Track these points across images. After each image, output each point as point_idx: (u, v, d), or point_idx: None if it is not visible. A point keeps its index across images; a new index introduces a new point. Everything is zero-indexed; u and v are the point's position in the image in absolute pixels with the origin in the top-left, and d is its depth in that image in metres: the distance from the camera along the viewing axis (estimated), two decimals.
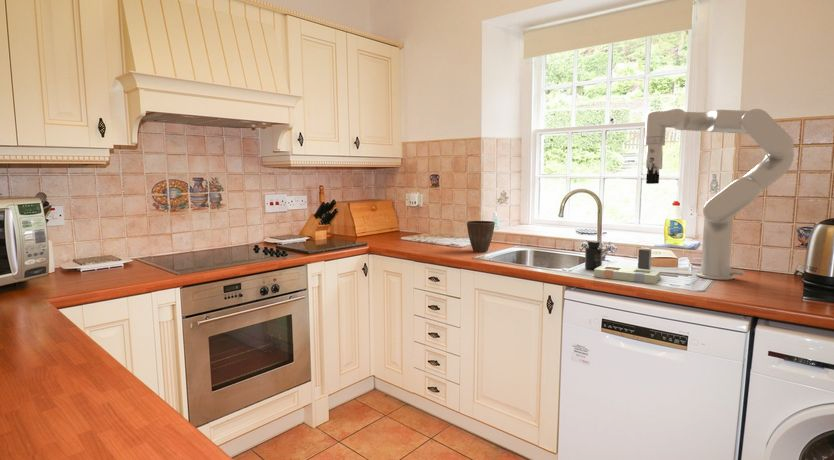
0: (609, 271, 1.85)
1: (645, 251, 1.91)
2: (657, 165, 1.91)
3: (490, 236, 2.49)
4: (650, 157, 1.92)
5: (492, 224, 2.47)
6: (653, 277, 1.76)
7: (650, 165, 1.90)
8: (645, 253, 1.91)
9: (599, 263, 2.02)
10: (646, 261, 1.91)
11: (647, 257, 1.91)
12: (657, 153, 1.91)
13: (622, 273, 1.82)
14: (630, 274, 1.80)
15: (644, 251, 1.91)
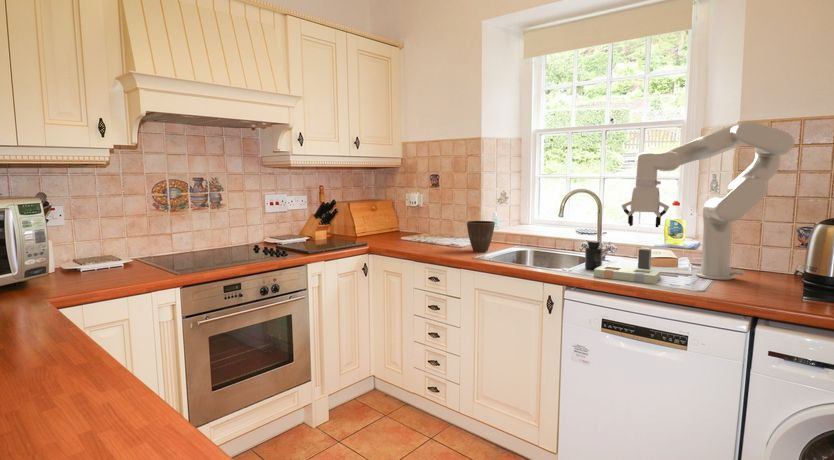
0: (609, 271, 1.85)
1: (645, 251, 1.91)
2: None
3: (490, 236, 2.49)
4: (658, 200, 1.87)
5: (492, 224, 2.47)
6: (653, 277, 1.76)
7: None
8: (645, 253, 1.91)
9: (599, 263, 2.02)
10: (646, 261, 1.91)
11: (647, 257, 1.91)
12: None
13: (622, 273, 1.82)
14: (630, 274, 1.80)
15: (644, 251, 1.91)
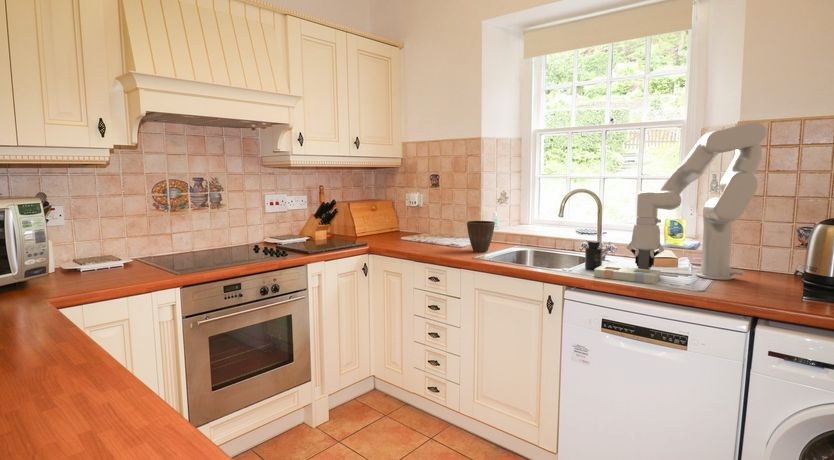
0: (609, 271, 1.85)
1: (645, 251, 1.91)
2: None
3: (490, 236, 2.49)
4: (658, 240, 1.89)
5: (492, 224, 2.47)
6: (653, 277, 1.76)
7: (662, 251, 1.90)
8: (645, 253, 1.91)
9: (599, 263, 2.02)
10: (646, 261, 1.91)
11: (647, 257, 1.91)
12: (659, 234, 1.91)
13: (622, 273, 1.82)
14: (630, 274, 1.80)
15: (644, 251, 1.91)
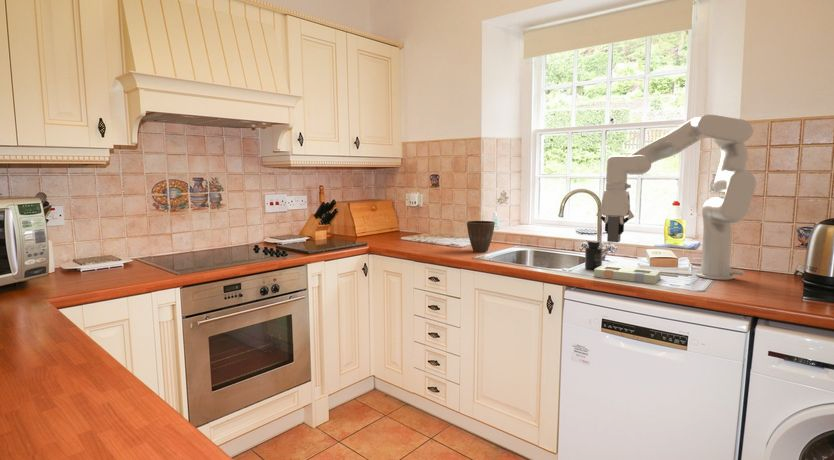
0: (609, 271, 1.85)
1: (615, 217, 1.86)
2: None
3: (490, 236, 2.49)
4: (628, 206, 1.84)
5: (492, 224, 2.47)
6: (653, 277, 1.76)
7: None
8: (615, 220, 1.86)
9: (599, 263, 2.02)
10: (615, 228, 1.86)
11: (616, 224, 1.85)
12: (629, 200, 1.86)
13: (622, 273, 1.82)
14: (630, 274, 1.80)
15: (613, 218, 1.86)
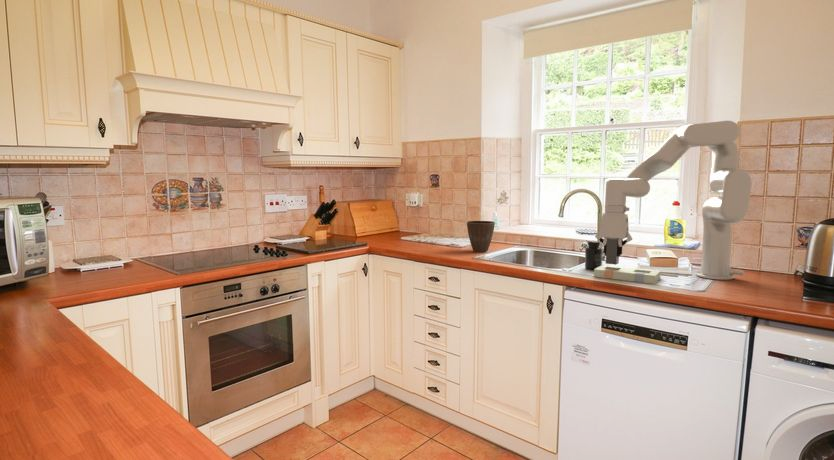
0: (609, 271, 1.85)
1: (613, 240, 1.87)
2: None
3: (490, 236, 2.49)
4: (627, 229, 1.85)
5: (492, 224, 2.47)
6: (653, 277, 1.76)
7: (630, 240, 1.85)
8: (613, 242, 1.87)
9: (599, 263, 2.02)
10: (614, 250, 1.87)
11: (615, 246, 1.86)
12: None
13: (622, 273, 1.82)
14: (630, 274, 1.80)
15: (612, 240, 1.87)
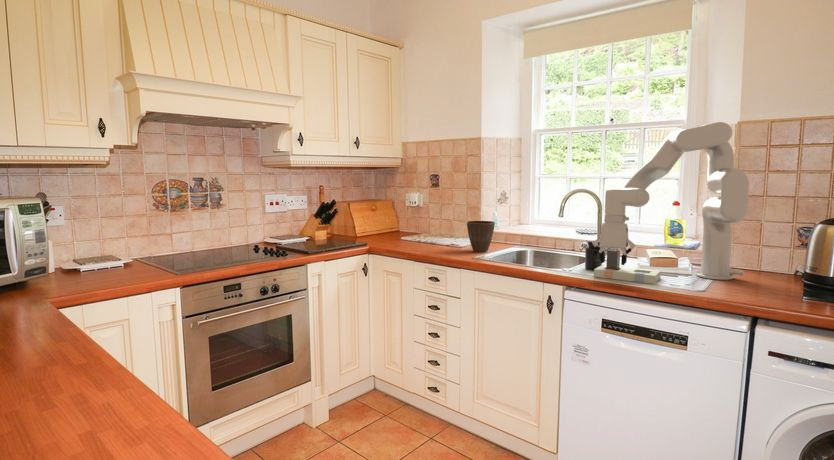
0: (609, 271, 1.85)
1: (613, 252, 1.87)
2: None
3: (490, 236, 2.49)
4: (627, 237, 1.85)
5: (492, 224, 2.47)
6: (653, 277, 1.76)
7: (634, 247, 1.84)
8: (613, 254, 1.87)
9: (599, 263, 2.02)
10: (614, 262, 1.87)
11: (615, 258, 1.87)
12: (627, 232, 1.87)
13: (622, 273, 1.82)
14: (630, 274, 1.80)
15: (612, 252, 1.87)
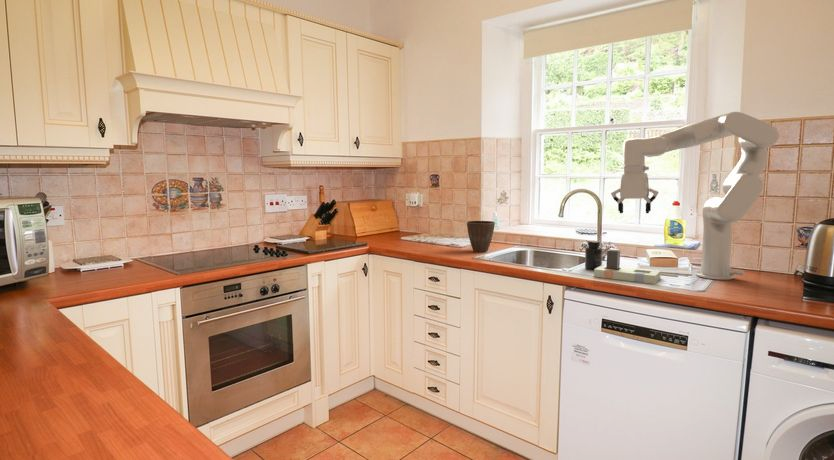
0: (609, 271, 1.85)
1: (613, 252, 1.87)
2: None
3: (490, 236, 2.49)
4: (647, 186, 1.86)
5: (492, 224, 2.47)
6: (653, 277, 1.76)
7: (657, 194, 1.85)
8: (613, 254, 1.87)
9: (599, 263, 2.02)
10: (614, 262, 1.87)
11: (615, 258, 1.87)
12: None
13: (622, 273, 1.82)
14: (630, 274, 1.80)
15: (612, 252, 1.87)
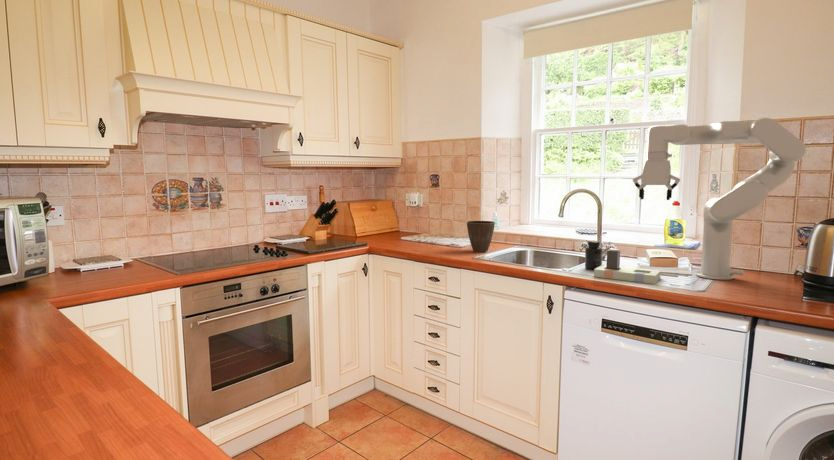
0: (609, 271, 1.85)
1: (613, 252, 1.87)
2: None
3: (490, 236, 2.49)
4: (669, 173, 1.89)
5: (492, 224, 2.47)
6: (653, 277, 1.76)
7: None
8: (613, 254, 1.87)
9: (599, 263, 2.02)
10: (614, 262, 1.87)
11: (615, 258, 1.87)
12: None
13: (622, 273, 1.82)
14: (630, 274, 1.80)
15: (612, 252, 1.87)
